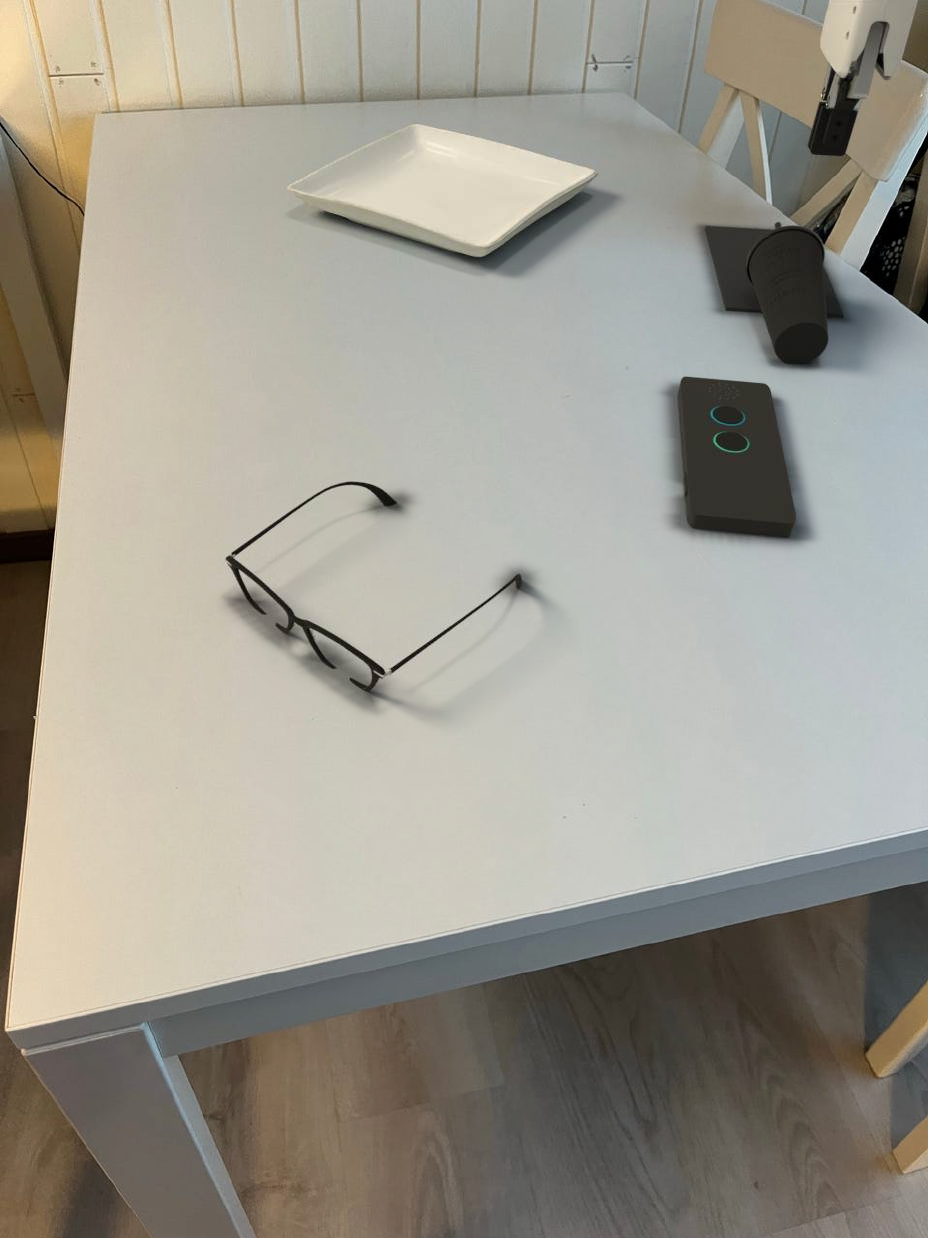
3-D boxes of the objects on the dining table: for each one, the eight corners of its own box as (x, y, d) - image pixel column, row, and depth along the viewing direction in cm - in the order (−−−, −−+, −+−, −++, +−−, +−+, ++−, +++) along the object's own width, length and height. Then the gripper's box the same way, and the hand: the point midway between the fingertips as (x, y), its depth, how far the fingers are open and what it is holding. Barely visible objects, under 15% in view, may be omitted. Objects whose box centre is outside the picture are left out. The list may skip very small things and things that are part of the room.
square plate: (485, 280, 102) (487, 244, 99) (285, 217, 111) (281, 183, 109) (597, 197, 118) (601, 164, 116) (414, 148, 128) (414, 117, 125)
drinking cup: (774, 304, 86) (753, 186, 98) (748, 371, 93) (731, 253, 104) (857, 313, 86) (826, 194, 98) (826, 380, 93) (801, 260, 104)
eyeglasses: (219, 594, 67) (210, 551, 64) (379, 493, 76) (377, 452, 73) (385, 720, 60) (383, 678, 57) (541, 593, 68) (547, 551, 65)
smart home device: (771, 381, 86) (800, 522, 72) (766, 398, 87) (794, 540, 73) (678, 373, 86) (689, 512, 73) (675, 390, 88) (685, 529, 74)
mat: (842, 319, 98) (843, 314, 98) (725, 312, 99) (726, 307, 98) (806, 236, 112) (808, 231, 112) (704, 230, 113) (705, 225, 112)
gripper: (972, -70, 70) (885, 186, 83) (918, -107, 80) (849, 126, 94) (868, -76, 70) (798, 181, 83) (828, -111, 81) (772, 122, 94)
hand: (825, 151), depth 88 cm, fingers closed
